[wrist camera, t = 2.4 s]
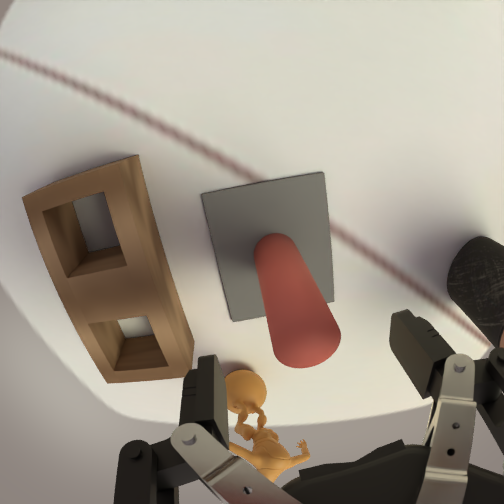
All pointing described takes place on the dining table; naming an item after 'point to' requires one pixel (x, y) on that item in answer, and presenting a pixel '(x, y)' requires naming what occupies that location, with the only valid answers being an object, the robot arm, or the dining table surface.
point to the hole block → (113, 274)
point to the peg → (293, 305)
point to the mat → (262, 224)
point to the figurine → (265, 440)
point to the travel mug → (480, 286)
